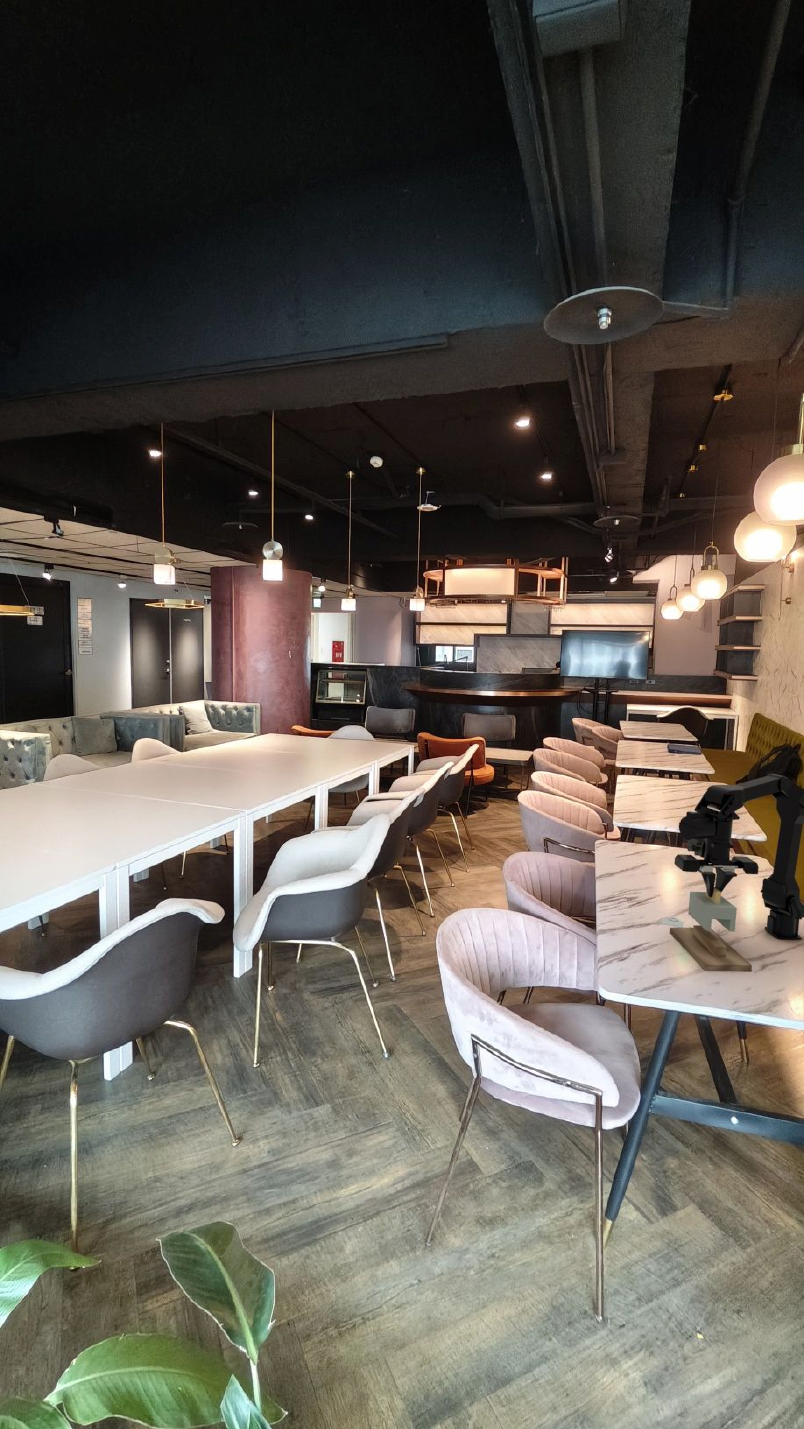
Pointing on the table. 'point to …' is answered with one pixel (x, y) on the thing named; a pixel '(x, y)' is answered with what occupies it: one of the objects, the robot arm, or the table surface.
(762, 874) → the table surface
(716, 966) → the cleat board
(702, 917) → the cabinet block
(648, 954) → the table surface
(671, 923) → the mounting bracket
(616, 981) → the table surface
